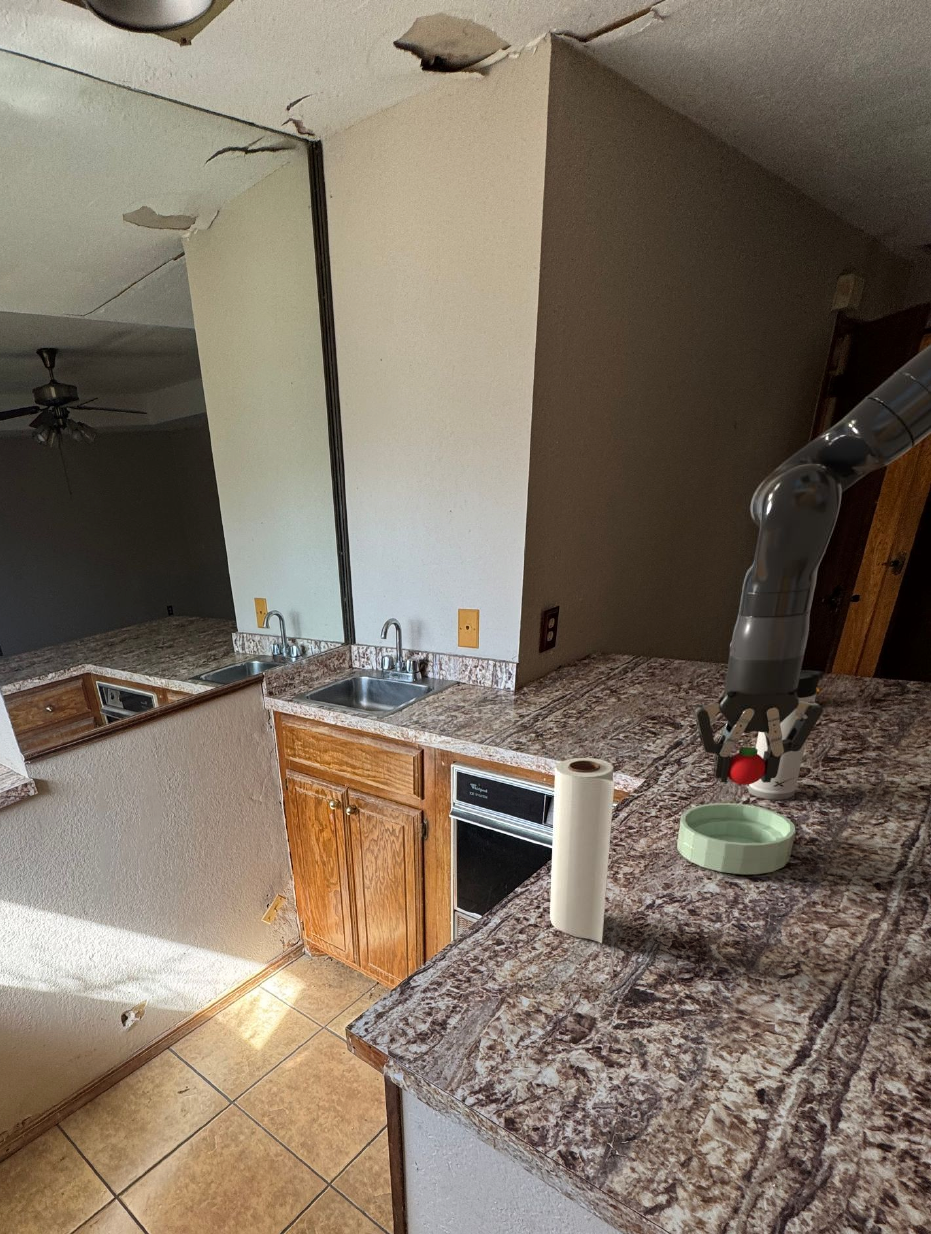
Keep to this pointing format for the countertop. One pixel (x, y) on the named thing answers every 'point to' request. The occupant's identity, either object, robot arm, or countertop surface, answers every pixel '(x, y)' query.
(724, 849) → the bowl
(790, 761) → the travel mug
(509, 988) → the countertop surface
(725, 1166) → the countertop surface
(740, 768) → the red tomato
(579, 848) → the paper towel roll
